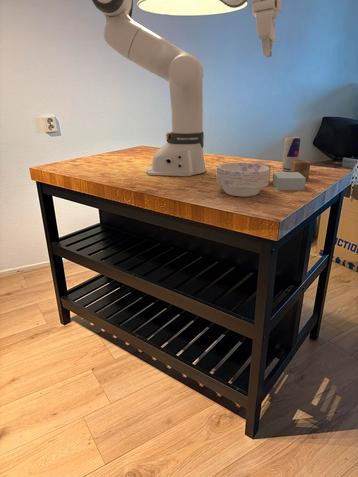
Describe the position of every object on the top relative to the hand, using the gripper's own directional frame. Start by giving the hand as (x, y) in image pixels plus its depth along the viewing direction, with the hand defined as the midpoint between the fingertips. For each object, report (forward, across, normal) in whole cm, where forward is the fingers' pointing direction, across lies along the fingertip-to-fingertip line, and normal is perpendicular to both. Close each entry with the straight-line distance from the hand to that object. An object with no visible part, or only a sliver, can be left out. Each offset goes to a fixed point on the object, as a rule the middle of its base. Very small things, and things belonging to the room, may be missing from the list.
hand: (267, 56), depth 116 cm
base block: (+39, +20, +7) cm, 44 cm away
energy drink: (+39, -3, +6) cm, 40 cm away
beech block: (+38, +17, -2) cm, 41 cm away
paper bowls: (+37, +31, -6) cm, 49 cm away
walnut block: (+39, +9, +10) cm, 41 cm away
